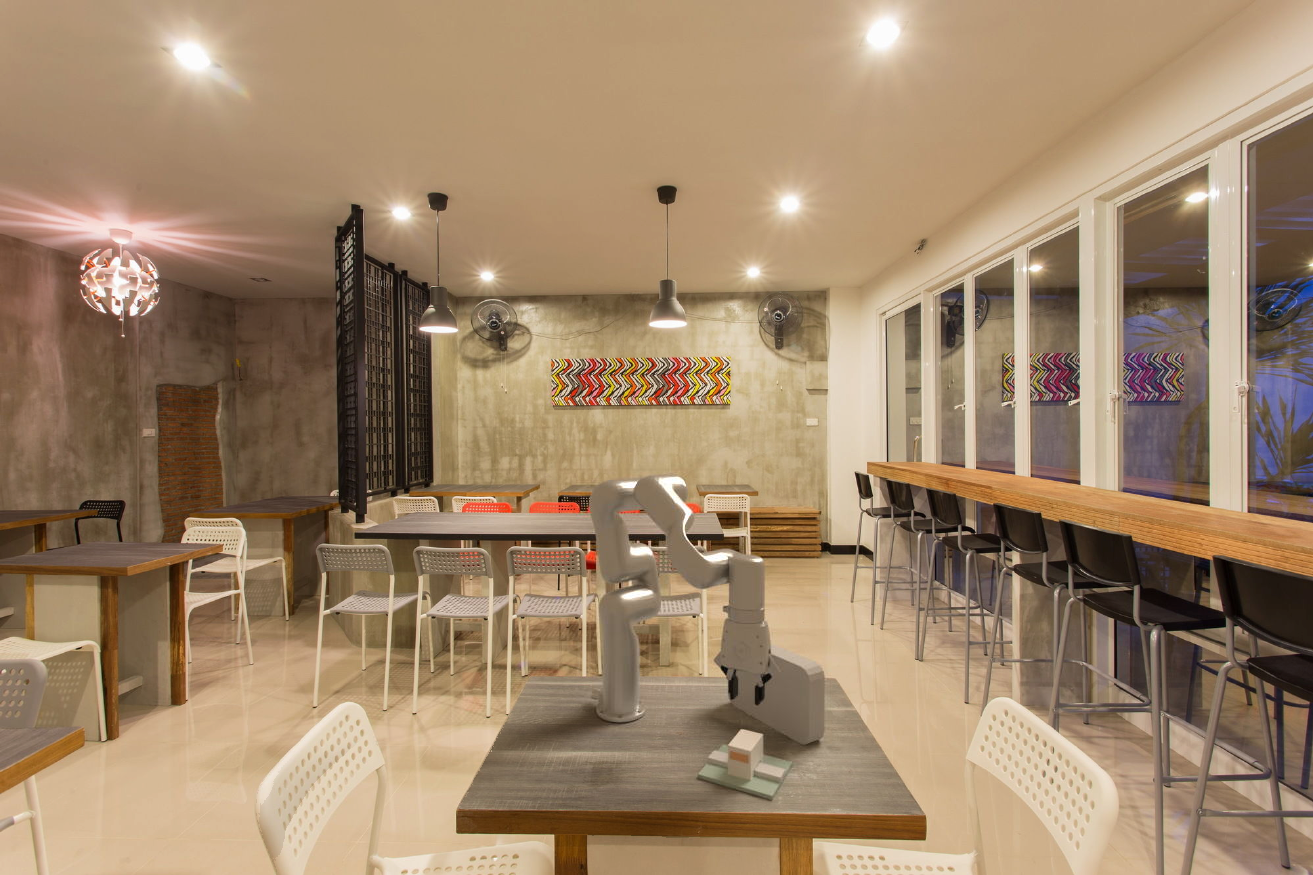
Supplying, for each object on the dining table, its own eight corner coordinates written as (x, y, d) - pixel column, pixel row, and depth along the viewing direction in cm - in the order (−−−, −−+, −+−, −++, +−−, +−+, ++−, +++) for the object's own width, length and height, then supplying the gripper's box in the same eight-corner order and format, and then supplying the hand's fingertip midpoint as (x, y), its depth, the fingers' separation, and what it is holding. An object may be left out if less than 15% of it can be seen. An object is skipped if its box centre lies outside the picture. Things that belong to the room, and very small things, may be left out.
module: (727, 774, 125) (727, 745, 125) (741, 756, 132) (741, 728, 132) (750, 780, 123) (750, 751, 123) (763, 761, 130) (763, 734, 130)
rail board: (698, 777, 125) (698, 769, 125) (723, 747, 138) (723, 739, 138) (772, 800, 118) (772, 790, 118) (792, 765, 130) (792, 757, 130)
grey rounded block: (831, 739, 141) (831, 663, 141) (808, 749, 137) (809, 670, 137) (748, 696, 165) (749, 630, 165) (727, 702, 161) (727, 635, 161)
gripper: (702, 613, 128) (702, 698, 128) (780, 625, 120) (780, 716, 120) (716, 604, 135) (716, 685, 135) (791, 615, 127) (790, 701, 127)
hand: (746, 699), depth 128 cm, fingers open, 4 cm apart
